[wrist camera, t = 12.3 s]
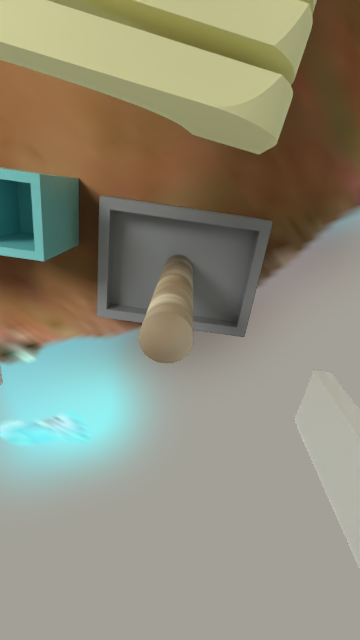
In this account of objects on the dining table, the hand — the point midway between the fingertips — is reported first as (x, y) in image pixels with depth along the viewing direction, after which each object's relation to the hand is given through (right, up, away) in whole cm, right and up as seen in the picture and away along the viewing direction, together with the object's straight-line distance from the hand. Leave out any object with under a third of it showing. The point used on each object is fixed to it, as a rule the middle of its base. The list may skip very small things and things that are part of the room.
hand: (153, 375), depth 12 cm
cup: (-12, +14, +17) cm, 25 cm away
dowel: (+1, +8, +18) cm, 20 cm away
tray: (+1, +8, +19) cm, 21 cm away
